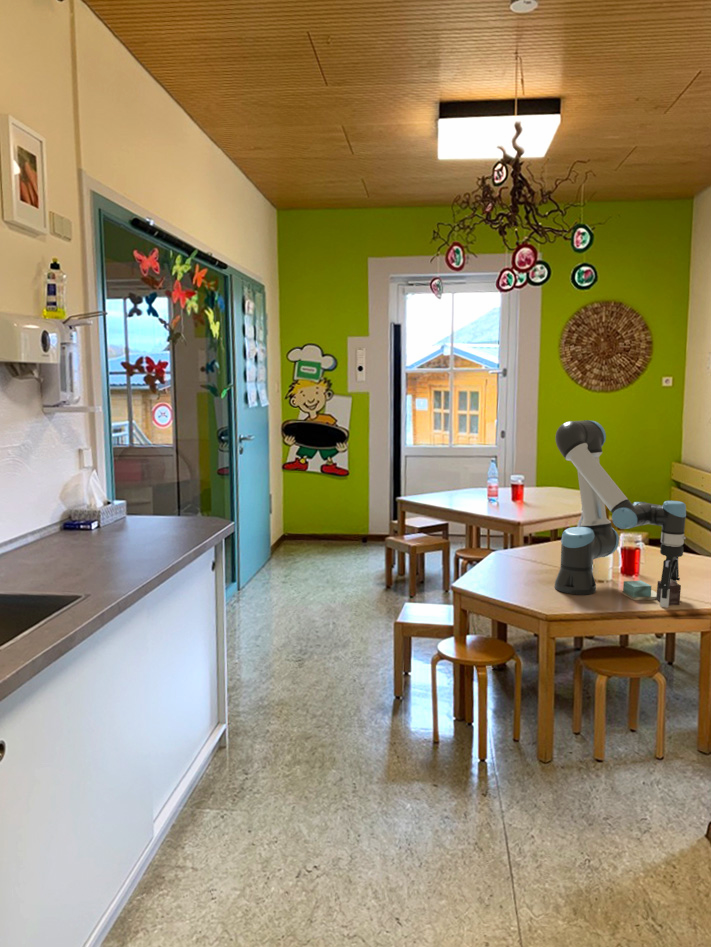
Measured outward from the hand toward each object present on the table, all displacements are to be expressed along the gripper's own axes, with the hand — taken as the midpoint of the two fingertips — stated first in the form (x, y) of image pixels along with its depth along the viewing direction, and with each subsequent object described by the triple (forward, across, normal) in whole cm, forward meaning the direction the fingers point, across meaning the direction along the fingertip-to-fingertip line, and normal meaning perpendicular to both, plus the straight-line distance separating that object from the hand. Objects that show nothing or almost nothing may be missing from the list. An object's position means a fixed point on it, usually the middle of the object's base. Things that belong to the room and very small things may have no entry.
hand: (668, 602), depth 258 cm
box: (0, 0, 0) cm, 0 cm away
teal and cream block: (0, +2, +9) cm, 10 cm away
